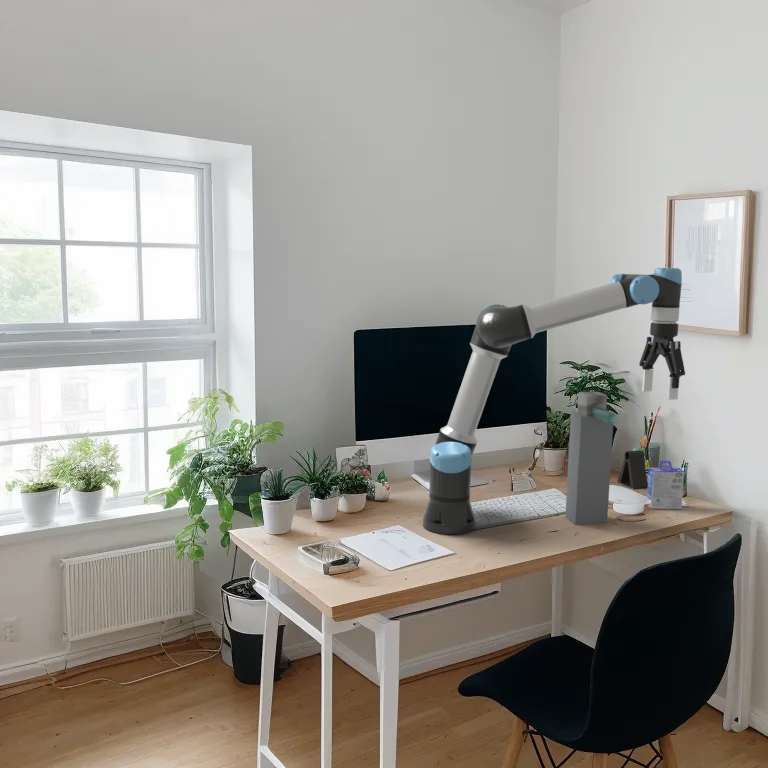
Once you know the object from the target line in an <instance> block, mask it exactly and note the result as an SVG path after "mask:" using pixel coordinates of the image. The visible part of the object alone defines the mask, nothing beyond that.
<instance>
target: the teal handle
mask: <svg viewBox="0 0 768 768" xmlns="http://www.w3.org/2000/svg"><path fill="white" fill-rule="evenodd" d="M577 397H578V398H577V412H578V413H580V414H582V415H585V416H593V417H595V418H597V419H599V420H602V421H604V422H606V423H613V424H617V417H618V416H617V415H618V414H617V413H614V412H612V411H610V410H608V409H607V403H608V402H607V399H608V395H607V394H605V393H602V392H599V391H578V395H577Z"/></svg>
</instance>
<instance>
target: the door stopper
mask: <svg viewBox="0 0 768 768" xmlns="http://www.w3.org/2000/svg"><path fill="white" fill-rule="evenodd" d="M617 483H618V484H620V483H621V485H623V486H625V487H627V488H630V489H632V488H633V489H632V490H637V489H646V488H647V489H648V476H647V470H646V464H645V452H644V450H642V449H640V450H638V449H637V450H629V451H625V453H624V459H623V463H622V465H621V469H620V472H619V474H618V478H617Z"/></svg>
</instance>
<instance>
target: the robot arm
mask: <svg viewBox="0 0 768 768" xmlns="http://www.w3.org/2000/svg"><path fill="white" fill-rule="evenodd" d="M682 273H683V272H682V270H681V269H680V268H679V267H656V268H654V270H653V273H652V274H637V273H636V274H635V273H633V274H632V273H619V274H613V275H612V276H611V278H610V280H609V283H608V284H604V285H601V286H598V287H594V288H590V289H587V290H586V289H585V290H583V291H580V292H577V293H573V294H568V295H566V296H562V297H561V296H560V297H559V298H555V299H550V300H548V301H544V302H540V303H537V304H533V305H530V306H527V305H525V304H523V303H522V304H519V305H515V306H510V307H509V306H505V305H504V304H502V305H501V304H491V305H488V306H486V307H485V308H484V309H482V311H480V312H479V314H478V316H477V318H476V321H475V322H476V324H475V327H474V330H473V333H472V335H471V336H472V337H471V340H470V342H469V345H470V347H471V349H472V353H471V355H470V358H469V361H468V364H467V367H466V370H465V372H464V376H463V377H462V378H463V379H462V382H461V385H460V387H459V390H458V393H457V395H456V398H455V402H454V405H453V407H452V409H451V413H450V416H449V419H448V422H447V424H446V425H445V426H443V427H441V428H440V430H439V432H438V435H437V438H436V441H435V443H434V445H433V446H432V447H431V448H430V449H431V450H430V454H429V498H428V502H427V504H426V506H425V511H424V513H423V516H422V527H423V528H425V530H428V531H430V532H433V533H436V534H441V535H442V534H443V535H460V534H467V533H470V532H472V531H473V530H474V529H475V528H476V517H475V514H474V510H473V506H472V503H471V479H472V477H471V474H472V461H473V454H474V452H475V449H476V447H477V446H476V445H477V443H478V440H477V438H476V436H475V435H476V434H475V433H476V430H477V428H478V425H479V422H480V420H481V418H482V414H483V411H484V408H485V406H486V403H487V399H488V397H489V394H490V391H491V388H492V386H493V382H494V379H495V378H496V374H497V371H498V369H499V366H500V363H501V361H502V359H505V358H507V357H508V356H509V353H510V350H511V348H512V345H515V344H517V343H520V342H523V341H526V340H530V339H533V338H534V336H535V335H536V334H537V333H540V332H544V331H548V330H552V329H555V328H558V327H563V326H566V325H569V324H573V323H577V322H581V321H584V320H587V319H591V318H594V317H597V316H601V315H605V314H609V313H612V312H616V311H620V310H622V309H627V308H631V307H635V306H638V305H647V304H651V313H650V320H651V321H652V322H651V323H650V329H649V334H650V336H647V337H646V342H645V346H644V348H643V352H642V355H641V357H640V361H639V362H638V363H639V367H642V370H643V373H642V388H641V391H642V392H653V381H654V380H653V379H654V365H655V363H656V361H657V360H658V358H659V356H662V358H664V360H665V362H666V364H667V368H668V371H669V373H670V374H669V375H668V386H667V398H666V399H667V400H669V401H671V400H672V401H673V400H675V401H677V400H678V396H679V387H680V378H681V377H683V376H685V375H686V371H685V365H684V360H683V355H682V348H681V345H682V343H681V341H680V340H678V341H677V340H676V341H675V340H674V338H675V337H677V336H678V334H679V323H677V322H679V317H680V306H681V304H680V303H681V292H682V285H683V283H682V281H683V280H682V279H683V278H682V277H683V276H682Z"/></svg>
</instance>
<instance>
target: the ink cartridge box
mask: <svg viewBox="0 0 768 768" xmlns="http://www.w3.org/2000/svg"><path fill="white" fill-rule="evenodd" d="M662 464H668V465H662ZM647 470H648V474H647V475H648V476H647V482H648V488H647V496H646V499H647V498H648V499H650V500H651V503H650V504H649V505H647V506H648V508H649V509H652V510H655V509H657V510H663V509H664V510H665V509H666V510H682V509H683V493H684V481H685V479H684V478H685V471H684V470H682V469H681V468H680V467H673V466H672V461H671V460H659V467H648V469H647Z"/></svg>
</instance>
